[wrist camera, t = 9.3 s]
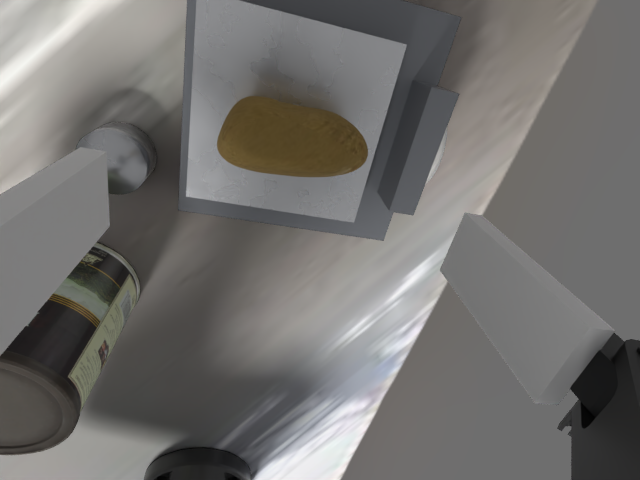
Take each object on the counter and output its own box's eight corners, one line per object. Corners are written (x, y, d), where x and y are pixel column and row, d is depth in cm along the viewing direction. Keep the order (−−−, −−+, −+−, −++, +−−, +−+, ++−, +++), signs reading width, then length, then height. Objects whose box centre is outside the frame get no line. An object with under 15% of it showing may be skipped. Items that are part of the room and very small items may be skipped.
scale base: (382, 226, 37) (403, 264, 31) (185, 195, 33) (166, 232, 27) (453, 20, 28) (499, 18, 22) (198, -52, 24) (174, -77, 19)
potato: (210, 116, 25) (184, 151, 18) (304, 44, 23) (316, 51, 16) (274, 195, 28) (273, 250, 21) (359, 136, 26) (389, 175, 19)
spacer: (156, 185, 32) (146, 198, 30) (94, 175, 31) (77, 188, 29) (157, 128, 30) (146, 137, 27) (90, 115, 29) (71, 124, 26)
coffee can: (1, 251, 34) (-154, 378, 22) (109, 225, 34) (15, 338, 21) (64, 331, 39) (-33, 470, 27) (158, 309, 39) (104, 438, 27)
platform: (351, 217, 31) (354, 222, 30) (188, 191, 28) (185, 196, 27) (402, 44, 25) (407, 44, 24) (200, -10, 22) (197, -11, 21)
